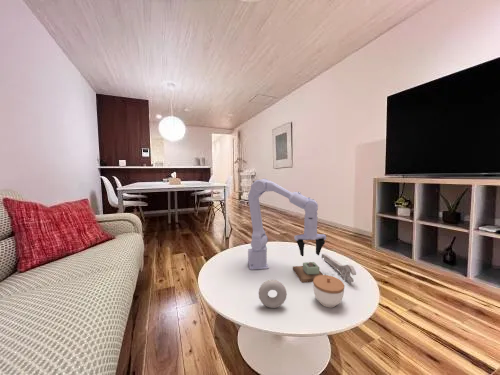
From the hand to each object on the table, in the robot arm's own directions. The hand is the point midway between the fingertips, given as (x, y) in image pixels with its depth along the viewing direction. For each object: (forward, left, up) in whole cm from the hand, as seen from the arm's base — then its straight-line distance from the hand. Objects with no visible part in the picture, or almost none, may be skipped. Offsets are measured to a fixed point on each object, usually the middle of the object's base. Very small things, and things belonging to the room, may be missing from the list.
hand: (309, 254), depth 98 cm
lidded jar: (-2, -21, -10) cm, 23 cm away
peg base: (-1, -1, -9) cm, 9 cm away
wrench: (+14, +2, -10) cm, 18 cm away
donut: (-23, -21, -10) cm, 32 cm away
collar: (0, -1, -8) cm, 8 cm away
